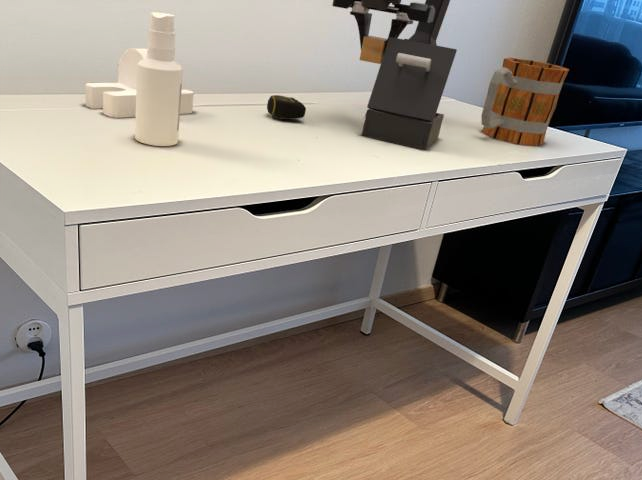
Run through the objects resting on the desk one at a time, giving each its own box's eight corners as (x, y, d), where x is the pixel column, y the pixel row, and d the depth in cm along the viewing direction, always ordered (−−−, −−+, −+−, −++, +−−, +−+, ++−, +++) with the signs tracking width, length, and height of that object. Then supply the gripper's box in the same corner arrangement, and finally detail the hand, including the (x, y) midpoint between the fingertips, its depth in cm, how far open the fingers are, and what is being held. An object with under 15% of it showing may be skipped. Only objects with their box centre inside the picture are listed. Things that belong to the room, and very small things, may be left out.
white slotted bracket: (194, 113, 125) (199, 54, 119) (112, 117, 113) (113, 53, 108) (164, 101, 130) (167, 44, 125) (83, 104, 119) (82, 42, 113)
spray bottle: (184, 141, 107) (193, 17, 97) (166, 149, 101) (174, 19, 92) (146, 132, 108) (152, 9, 99) (126, 140, 103) (130, 10, 93)
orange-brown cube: (365, 58, 133) (369, 35, 130) (385, 62, 131) (390, 39, 129) (359, 60, 129) (363, 36, 127) (379, 64, 128) (384, 40, 126)
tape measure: (304, 123, 130) (308, 103, 128) (272, 121, 127) (275, 101, 125) (292, 115, 135) (295, 95, 133) (261, 112, 133) (264, 93, 131)
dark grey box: (378, 125, 137) (383, 101, 135) (437, 138, 134) (444, 114, 131) (361, 135, 127) (366, 109, 124) (425, 150, 123) (432, 124, 121)
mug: (506, 128, 153) (528, 58, 145) (556, 144, 144) (583, 71, 137) (451, 130, 143) (472, 55, 135) (501, 148, 134) (527, 69, 126)
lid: (389, 38, 123) (387, 27, 119) (456, 50, 120) (456, 40, 116) (367, 108, 125) (364, 99, 120) (433, 122, 121) (432, 114, 117)
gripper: (330, -46, 118) (315, 49, 126) (433, -31, 112) (410, 68, 121) (349, -43, 127) (334, 46, 135) (445, -28, 121) (423, 63, 129)
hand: (373, 55), depth 130 cm, fingers closed on orange-brown cube, 4 cm apart
